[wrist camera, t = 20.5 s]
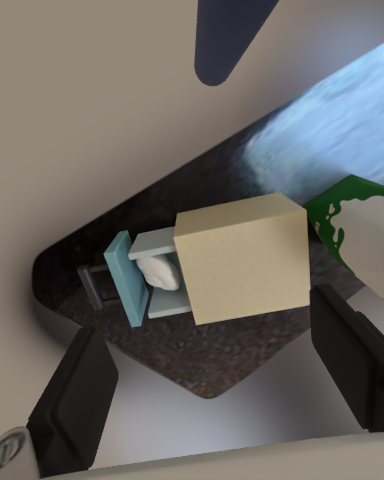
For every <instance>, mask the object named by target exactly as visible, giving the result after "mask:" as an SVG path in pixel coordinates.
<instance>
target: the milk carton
mask: <svg viewBox="0 0 384 480" xmlns="http://www.w3.org/2000/svg"><path fill="white" fill-rule="evenodd" d="M302 208H304V209H306V210H307V217H308V219H309V220H310V222H311V224H312V225H313V227H314V229H315V230H316V232H317V234H318V235H319V237H320V239H321V241H322V242H323V244H324V246H325V247H326V249H327V251H328V252H329V253H330V254H331V255H332V256H333V257H334V258H335V259H337V260H338V261H339V262H340V263H341V264H342V265H344V266H345V267H346V268H347V269H348V270H349V271H351V272H352V273H353V274H354V275H355V276H356V277H358V278H359V279H360V280H361V281H362V282H364V283H365V284H366V285H367V286H368V287H369V288H371V289H372V290H373V291H374V292H375V293H376V294H378V295H379V296H380V297H381V298H382V299H384V186H383V185H380V184H377V183H375V182H372V181H369V180H366V179H364V178H361V177H358V176H355V175H353V174H351V175H350V176H348V177H346V178H345V179H343V180H342V181H340V182H339V183H337V184H336V185H334V186H333V187H331V188H329V189H328V190H326V191H325V192H323V193H322V194H320V195H319V196H317V197H316V198H314V199H312V200H311V201H309V202H308V203H306V204H305V205H303V206H302Z"/></svg>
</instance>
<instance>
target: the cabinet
mask: <svg viewBox="0 0 384 480" xmlns="http://www.w3.org/2000/svg"><path fill="white" fill-rule="evenodd" d="M173 239H174V242H175V246H176V250H177V254H178V258H179V262H180V265H181V269H182V273H183V277H184V281H185V284H186V288H187V292H188V296H189V300H190V304H191V307H192V311H193V315H194V319H195V323H196V325H199V324H205V323H211V322H216V321H222V320H228V319H233V318H239V317H245V316H250V315H256V314H262V313H267V312H273V311H279V310H284V309H290V308H296V307H301V306H307V305H310V298H309V291H310V272H309V251H308V229H307V210H306V209H304V208H302V207H301V206H299V205H298V204H296V203H295V202H293V201H292V200H290V199H289V198H287V197H285V196H284V195H282V194H281V193H280V192H277V193H272V194H267V195H263V196H258V197H253V198H248V199H244V200H239V201H234V202H229V203H224V204H220V205H215V206H210V207H205V208H201V209H196V210H191V211H186V212H182V213H177V218H176V224H175V230H174V236H173Z"/></svg>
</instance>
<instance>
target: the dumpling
mask: <svg viewBox="0 0 384 480" xmlns="http://www.w3.org/2000/svg"><path fill="white" fill-rule="evenodd" d="M136 262H137V265H138V267H139V269H141V271H142V272H143V275H144V277H145V279H146V281H147V282H148V283H149V284H150V285H152V286H156V287H160V288H162V289H164V290H172V291H175V290H177V289H178V288H179V285H180V278H179V273H178V271H177V268H176V267H175V265H174V264H173V263H172V262H171V261H170V260H169V259H168V258H167V256H166V255H165V254H159V255H154V256H149V257H144V258H138V259H137V261H136Z"/></svg>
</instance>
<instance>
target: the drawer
mask: <svg viewBox="0 0 384 480" xmlns="http://www.w3.org/2000/svg"><path fill="white" fill-rule="evenodd" d="M174 230H175V226H174V227H169V228H164V229H159V230H154V231H150V232H145V233H140V234H138V235H137V237H136V239H135V241H134V243H133V245H132V242H131V239H130V236H129V233H128V231H122V232H119V233H118V235H117V236H116V237H115V239H114V240H113V241H112V243H111V244H110V246H109V247H108V248H107V250H106V251H105V252H104V256H105V259H106V261H107V263H106V264H101V265H96V266H91V267H90V265H88V264H86V265H82V266H80V267H79V268H78V269H77V271H78V274H79V276H80V278H81V280H82V283H83V285H84V287H85V289H86V292H87V294H88V296H89V299H90V301H91V303H92V305H93V308H94V310H100V309H102V308H104V307H105V305H111V304H116V303H121V302H122V303H123V306H124V308H125V311H126V314H127V316H128V319H129V322H130V324H131V327H137V326H141V322H142V318H143V315H144V311H145V307H146V303H147V299H148V295H149V294H148V291H147V288H146V285H145V282H144V279H143V276H142V273H141V270H140V269H139V267H138V265H137V262H136V261H137V259H138V258H144V257H149V256H154V255H159V254H165V255H166V256H167V258H168V259H169V260H170V261H171V262H172V263H173V264H174V265H175V267H176V268H177V271H178V273H179V278H180V285H179V288H178V289H177V290H175V291H172V290H164V289H162V288H160V287H156V286H153V287H154V290H153V295H152V299H151V303H150V307H149V312H148V315H149V318H155V317H161V316H166V315H172V314H177V313H183V312H188V311H192V307H191V304H190V300H189V296H188V292H187V288H186V284H185V281H184V277H183V273H182V269H181V265H180V262H179V258H178V254H177V250H176V246H175V242H174V239H173V236H174ZM107 269H110V272H111V275H112V277H113V280H114V282H115V285H116V288H117V290H118V293H119V295H120V297H115V298H110V299H105V300H104V299H103V297H102V294H101V292H100V290H99V287H98V285H97V282H96V280H95V278H94V275H93V273H92V272H96V271H102V270H107Z"/></svg>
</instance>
